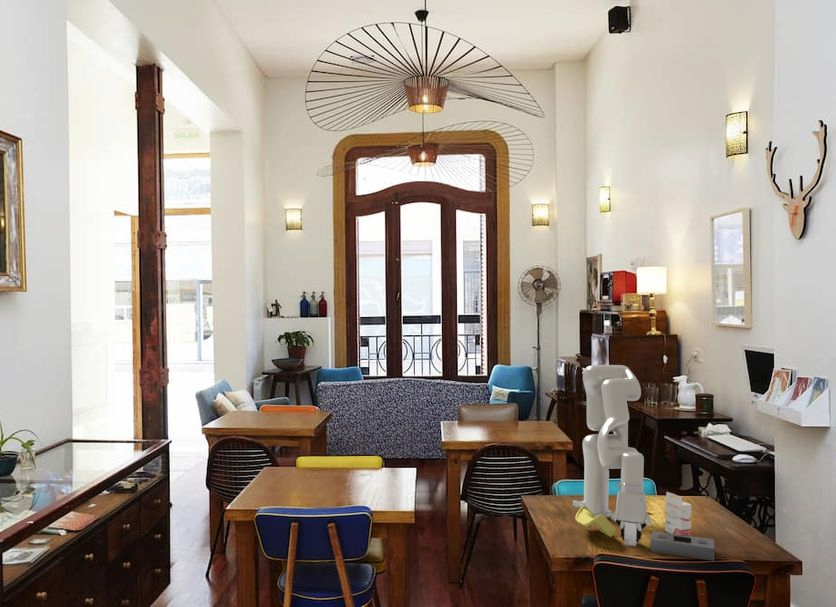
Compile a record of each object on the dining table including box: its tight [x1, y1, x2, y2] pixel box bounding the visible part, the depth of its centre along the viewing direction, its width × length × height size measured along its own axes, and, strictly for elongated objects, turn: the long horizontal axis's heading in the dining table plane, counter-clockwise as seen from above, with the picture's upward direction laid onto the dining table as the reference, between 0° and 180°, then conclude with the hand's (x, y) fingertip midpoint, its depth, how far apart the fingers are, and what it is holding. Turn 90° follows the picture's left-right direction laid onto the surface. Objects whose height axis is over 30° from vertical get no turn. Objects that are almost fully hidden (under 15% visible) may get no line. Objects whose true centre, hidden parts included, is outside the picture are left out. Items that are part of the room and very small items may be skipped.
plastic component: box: [575, 506, 618, 538], centre depth 255 cm, size 20×7×10 cm
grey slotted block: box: [649, 530, 715, 562], centre depth 240 cm, size 20×10×4 cm, turn 68°
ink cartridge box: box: [664, 491, 692, 536], centre depth 258 cm, size 9×5×15 cm, turn 23°
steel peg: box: [623, 521, 638, 547], centre depth 246 cm, size 4×4×8 cm
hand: (630, 539), depth 246 cm, fingers closed on steel peg, 4 cm apart
